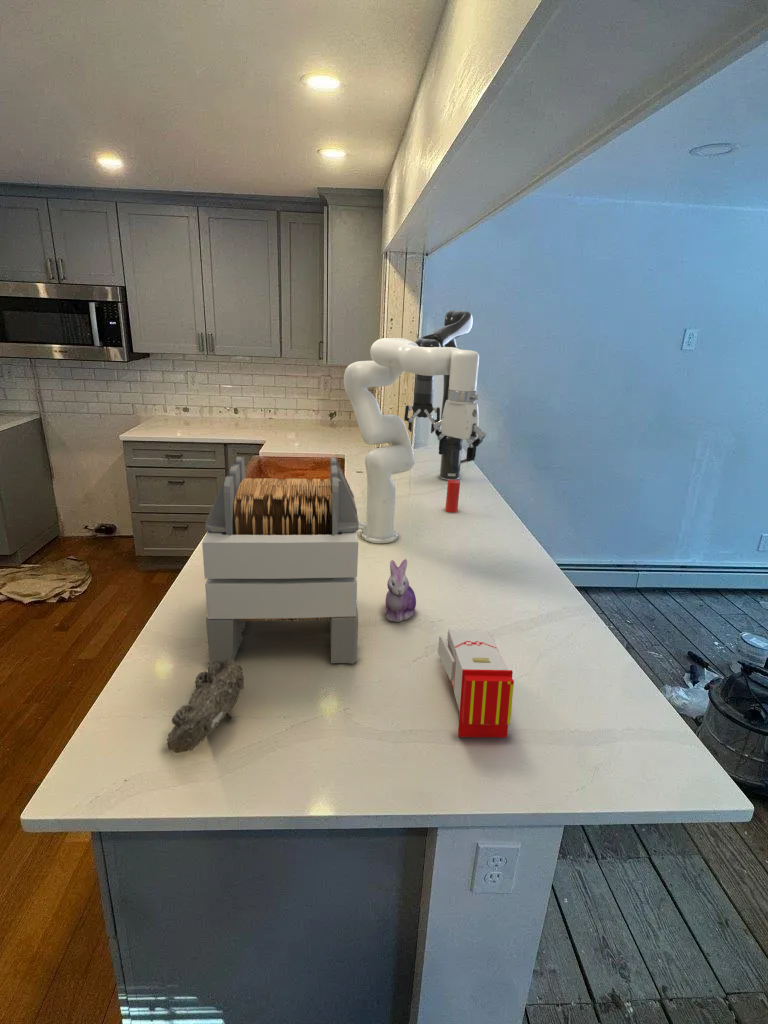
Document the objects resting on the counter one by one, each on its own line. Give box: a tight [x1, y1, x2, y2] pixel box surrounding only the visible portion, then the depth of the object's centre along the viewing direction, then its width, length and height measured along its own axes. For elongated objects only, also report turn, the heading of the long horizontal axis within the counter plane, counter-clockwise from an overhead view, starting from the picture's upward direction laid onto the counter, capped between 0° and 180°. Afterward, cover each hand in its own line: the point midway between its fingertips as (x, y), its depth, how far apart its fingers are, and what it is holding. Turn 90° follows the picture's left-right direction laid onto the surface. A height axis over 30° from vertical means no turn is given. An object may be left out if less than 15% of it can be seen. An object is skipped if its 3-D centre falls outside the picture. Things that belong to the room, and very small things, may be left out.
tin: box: [445, 480, 461, 514], centre depth 224 cm, size 5×5×12 cm
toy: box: [437, 628, 515, 738], centre depth 117 cm, size 12×13×30 cm
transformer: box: [201, 455, 360, 666], centre depth 133 cm, size 34×33×41 cm
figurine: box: [384, 558, 417, 623], centre depth 145 cm, size 9×10×15 cm
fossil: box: [166, 659, 245, 754], centre depth 106 cm, size 22×10×15 cm
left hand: (456, 457), depth 162 cm, fingers open, 9 cm apart
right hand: (421, 432), depth 230 cm, fingers open, 8 cm apart
